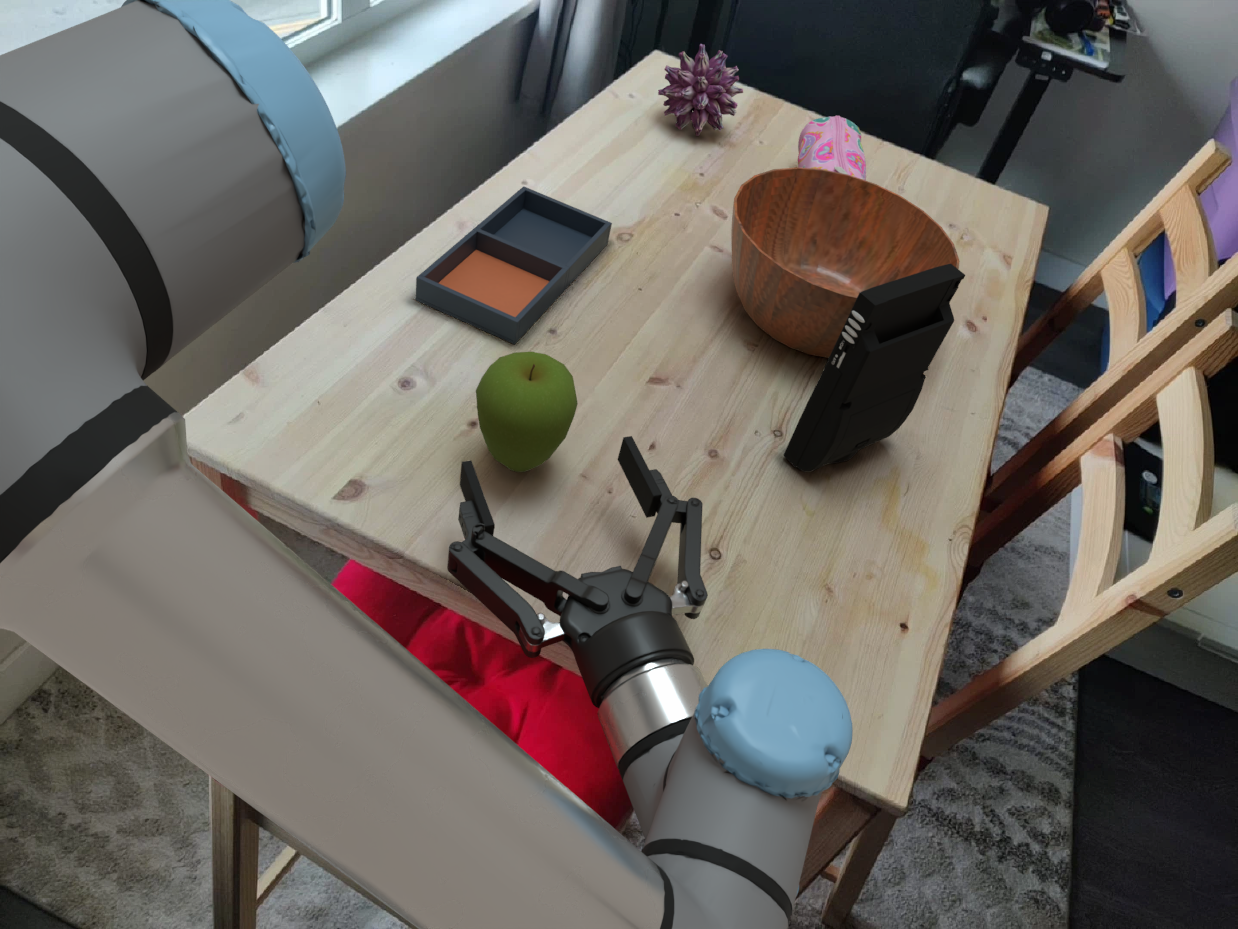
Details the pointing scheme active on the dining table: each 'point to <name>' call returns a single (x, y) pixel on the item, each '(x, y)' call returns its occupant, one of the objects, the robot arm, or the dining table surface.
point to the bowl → (823, 250)
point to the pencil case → (832, 147)
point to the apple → (525, 408)
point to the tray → (513, 264)
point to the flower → (701, 90)
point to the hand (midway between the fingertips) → (547, 459)
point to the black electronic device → (875, 367)
